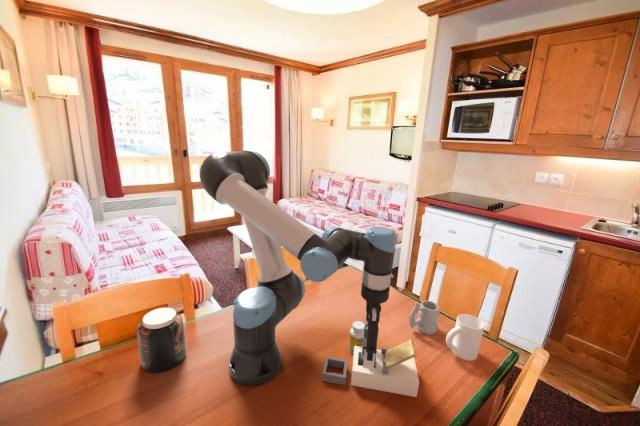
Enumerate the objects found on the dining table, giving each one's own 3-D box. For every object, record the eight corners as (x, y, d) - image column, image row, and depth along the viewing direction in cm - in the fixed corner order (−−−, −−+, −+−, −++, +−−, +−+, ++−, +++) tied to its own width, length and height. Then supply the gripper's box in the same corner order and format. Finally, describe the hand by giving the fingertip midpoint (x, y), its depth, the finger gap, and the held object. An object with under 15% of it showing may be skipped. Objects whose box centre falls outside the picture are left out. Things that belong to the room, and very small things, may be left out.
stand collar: (322, 380, 81) (322, 373, 81) (325, 363, 88) (326, 356, 87) (345, 384, 80) (345, 377, 80) (346, 366, 87) (347, 360, 86)
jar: (152, 380, 78) (146, 335, 74) (135, 359, 85) (128, 316, 81) (193, 356, 88) (189, 314, 84) (174, 339, 94) (170, 299, 90)
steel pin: (359, 378, 83) (364, 331, 79) (359, 367, 87) (364, 322, 82) (373, 380, 82) (378, 333, 78) (372, 369, 86) (378, 324, 82)
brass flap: (384, 370, 80) (382, 368, 79) (383, 355, 85) (381, 352, 85) (416, 356, 77) (414, 353, 77) (412, 341, 82) (410, 338, 82)
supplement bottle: (357, 341, 97) (359, 317, 95) (368, 351, 93) (370, 326, 91) (345, 347, 94) (347, 322, 92) (355, 358, 90) (358, 332, 88)
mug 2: (435, 346, 97) (441, 316, 94) (464, 341, 100) (471, 312, 97) (451, 364, 90) (458, 332, 86) (482, 358, 93) (490, 327, 89)
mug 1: (441, 333, 104) (447, 305, 101) (413, 338, 101) (418, 308, 97) (428, 320, 111) (433, 293, 108) (401, 324, 108) (406, 296, 104)
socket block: (351, 385, 80) (353, 365, 78) (353, 358, 90) (354, 340, 88) (416, 397, 78) (420, 377, 76) (411, 368, 87) (414, 350, 85)
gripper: (393, 313, 64) (383, 387, 70) (387, 265, 88) (379, 324, 93) (360, 308, 65) (353, 382, 71) (363, 262, 89) (357, 320, 95)
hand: (368, 349), depth 82 cm, fingers open, 13 cm apart
